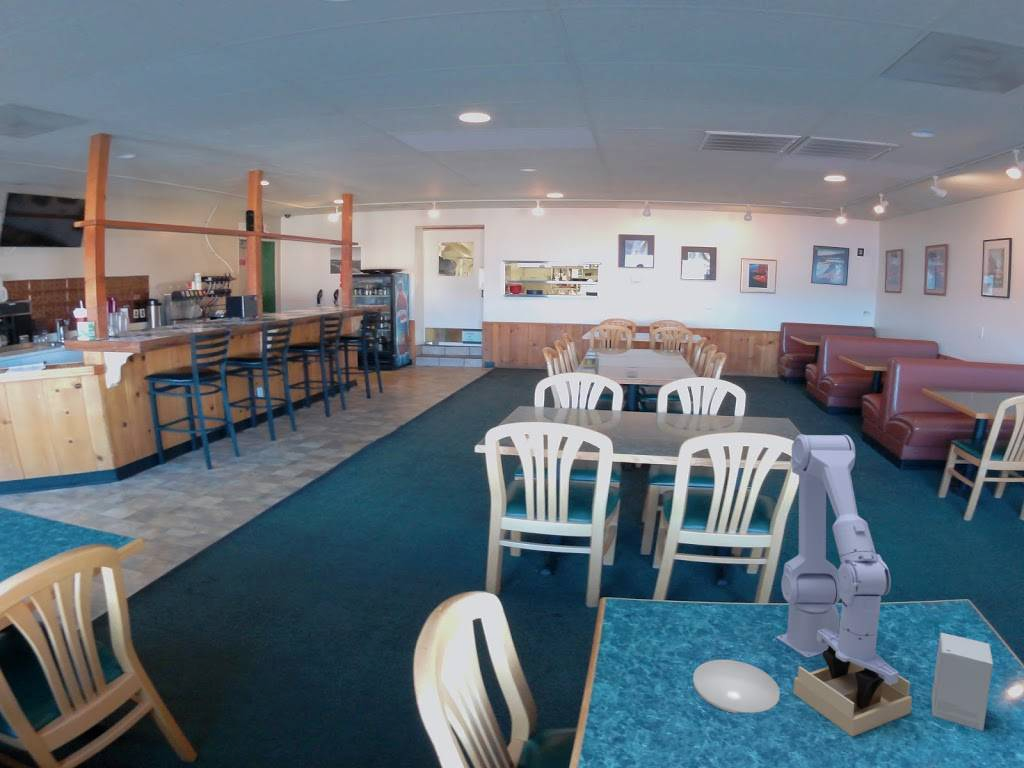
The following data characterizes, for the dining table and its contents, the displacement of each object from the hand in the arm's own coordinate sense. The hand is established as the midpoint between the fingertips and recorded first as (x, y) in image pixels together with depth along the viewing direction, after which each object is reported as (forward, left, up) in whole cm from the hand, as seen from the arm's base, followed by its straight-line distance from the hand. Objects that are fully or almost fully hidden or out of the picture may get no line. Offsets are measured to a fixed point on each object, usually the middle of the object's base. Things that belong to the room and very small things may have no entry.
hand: (850, 698), depth 116 cm
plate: (+15, -12, -1) cm, 19 cm away
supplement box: (-15, +9, -2) cm, 18 cm away
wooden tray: (0, 0, -1) cm, 1 cm away
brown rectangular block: (0, 0, -1) cm, 1 cm away
